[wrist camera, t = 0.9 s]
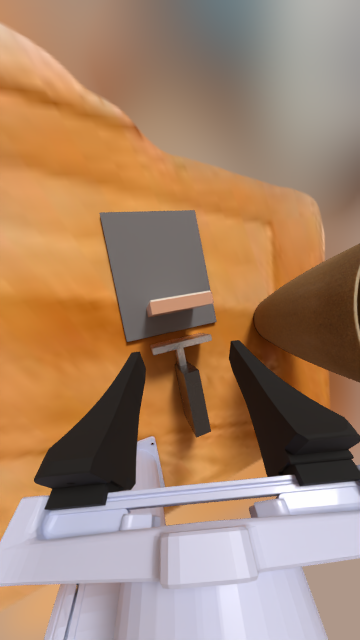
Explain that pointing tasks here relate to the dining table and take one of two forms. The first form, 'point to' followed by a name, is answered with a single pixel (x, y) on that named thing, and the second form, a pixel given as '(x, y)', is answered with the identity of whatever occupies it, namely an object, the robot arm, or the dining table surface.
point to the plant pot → (318, 315)
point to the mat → (156, 268)
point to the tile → (179, 303)
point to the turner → (188, 381)
